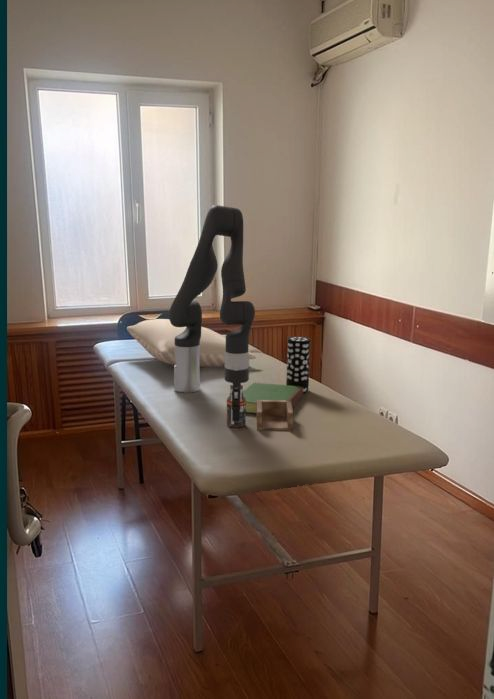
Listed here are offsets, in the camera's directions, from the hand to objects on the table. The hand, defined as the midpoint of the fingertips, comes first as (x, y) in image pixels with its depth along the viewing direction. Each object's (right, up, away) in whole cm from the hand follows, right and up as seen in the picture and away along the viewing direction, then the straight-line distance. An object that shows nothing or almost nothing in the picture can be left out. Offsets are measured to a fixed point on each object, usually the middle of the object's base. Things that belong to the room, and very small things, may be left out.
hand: (236, 417), depth 192 cm
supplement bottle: (0, -3, +1) cm, 3 cm away
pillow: (-22, +15, +75) cm, 79 cm away
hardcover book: (+11, +2, +22) cm, 25 cm away
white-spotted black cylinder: (+22, +5, +37) cm, 43 cm away
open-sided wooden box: (+12, -2, +3) cm, 12 cm away
